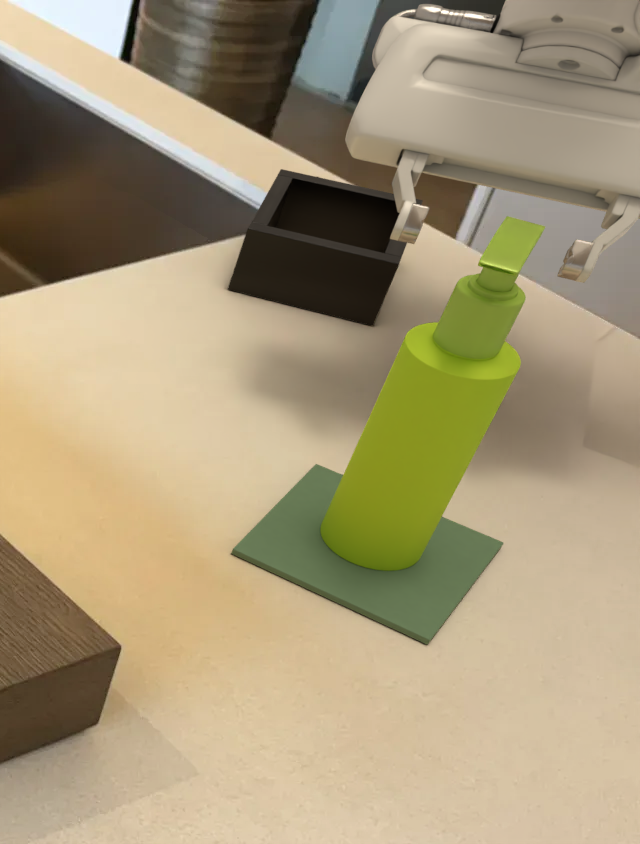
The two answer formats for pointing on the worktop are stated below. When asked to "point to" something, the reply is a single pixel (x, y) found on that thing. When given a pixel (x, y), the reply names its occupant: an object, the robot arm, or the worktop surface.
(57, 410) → the worktop surface
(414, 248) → the worktop surface
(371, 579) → the mat
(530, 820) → the worktop surface
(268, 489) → the worktop surface
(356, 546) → the soap dispenser
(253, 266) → the box
